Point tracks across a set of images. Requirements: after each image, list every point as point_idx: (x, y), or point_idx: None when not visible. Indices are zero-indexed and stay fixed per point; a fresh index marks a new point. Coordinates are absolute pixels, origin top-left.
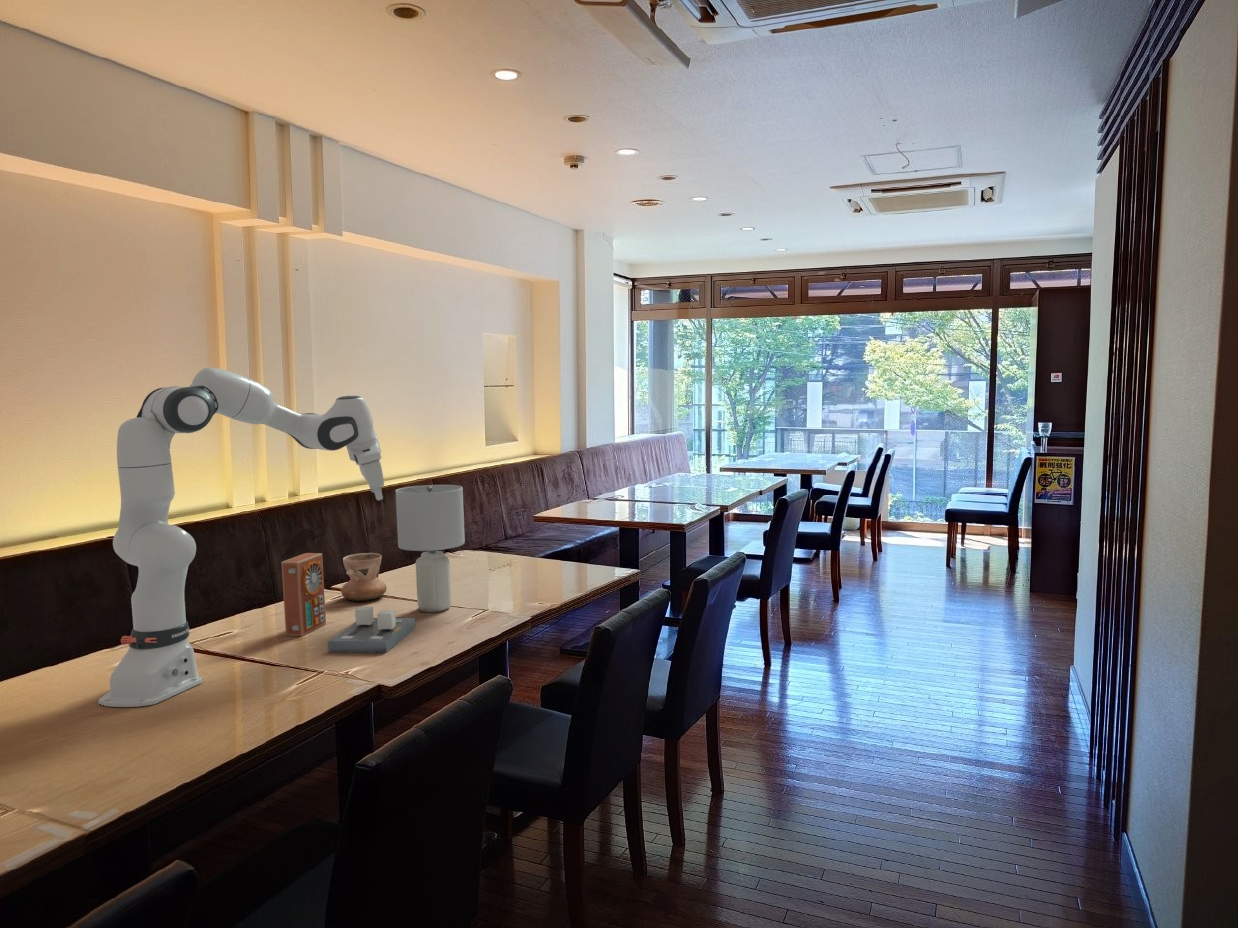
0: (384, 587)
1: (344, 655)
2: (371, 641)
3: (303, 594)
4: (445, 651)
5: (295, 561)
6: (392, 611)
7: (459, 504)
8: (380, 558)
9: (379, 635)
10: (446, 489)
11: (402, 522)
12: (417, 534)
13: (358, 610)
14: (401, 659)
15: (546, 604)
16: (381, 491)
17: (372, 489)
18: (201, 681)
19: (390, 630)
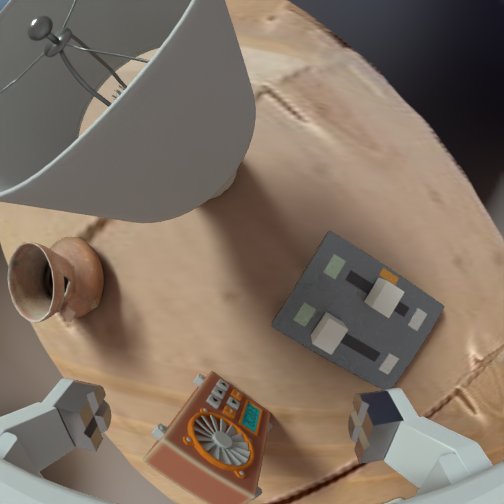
0: (83, 243)
1: (413, 364)
2: (431, 328)
3: (255, 445)
4: (469, 218)
5: (243, 499)
6: (391, 286)
7: None
8: (42, 247)
9: (408, 312)
10: (20, 8)
11: (144, 199)
12: (220, 157)
13: (335, 347)
14: (472, 286)
15: (283, 14)
16: (442, 426)
17: (97, 424)
18: (401, 498)
19: None
